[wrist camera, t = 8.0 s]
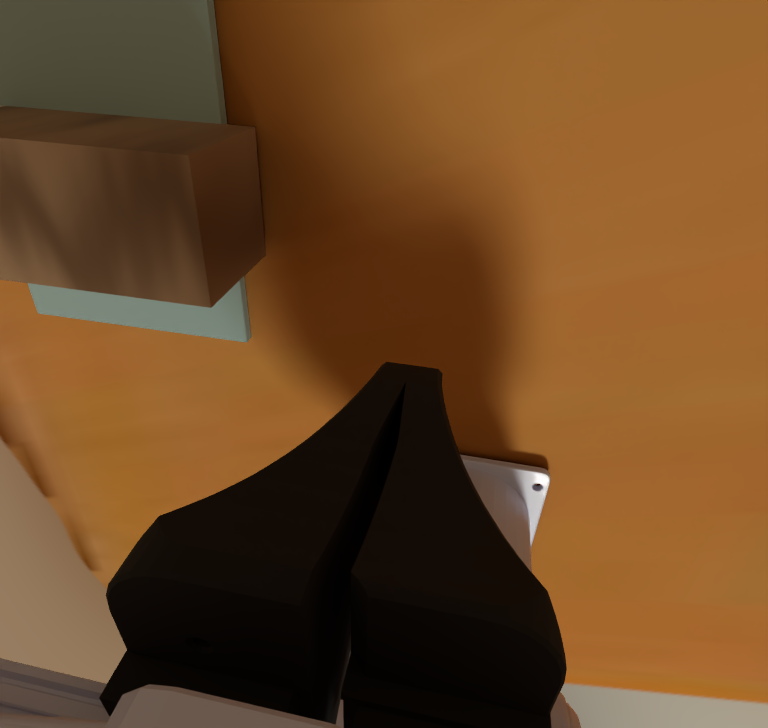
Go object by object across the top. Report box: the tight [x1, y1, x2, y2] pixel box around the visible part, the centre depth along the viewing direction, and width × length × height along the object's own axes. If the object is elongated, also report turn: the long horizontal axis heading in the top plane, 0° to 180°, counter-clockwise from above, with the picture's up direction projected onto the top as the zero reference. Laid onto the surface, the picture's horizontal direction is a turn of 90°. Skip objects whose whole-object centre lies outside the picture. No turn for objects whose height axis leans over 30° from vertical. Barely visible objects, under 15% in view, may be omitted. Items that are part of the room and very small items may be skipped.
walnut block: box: [0, 105, 266, 308], centre depth 20 cm, size 5×5×11 cm
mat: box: [0, 0, 251, 342], centre depth 22 cm, size 16×11×1 cm
